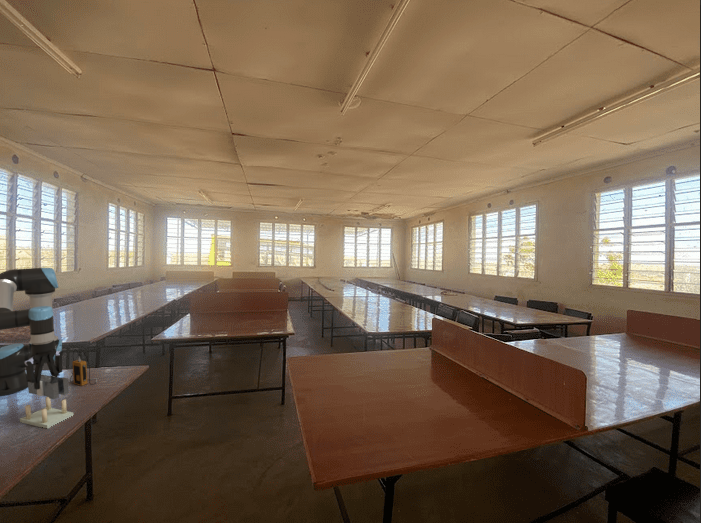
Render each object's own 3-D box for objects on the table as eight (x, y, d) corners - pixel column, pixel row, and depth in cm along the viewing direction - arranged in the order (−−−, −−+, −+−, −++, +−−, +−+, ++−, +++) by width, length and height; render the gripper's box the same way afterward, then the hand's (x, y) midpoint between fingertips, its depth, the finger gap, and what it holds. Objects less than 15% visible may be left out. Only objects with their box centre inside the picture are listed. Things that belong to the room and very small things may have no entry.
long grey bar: (26, 393, 137) (25, 378, 136) (41, 387, 142) (40, 373, 142) (54, 399, 133) (52, 383, 132) (68, 393, 138) (67, 378, 138)
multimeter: (106, 379, 177) (104, 345, 175) (86, 387, 167) (84, 352, 166) (89, 375, 182) (87, 342, 180) (69, 383, 172) (66, 348, 171)
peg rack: (19, 422, 136) (18, 406, 136) (46, 409, 146) (45, 394, 145) (47, 428, 132) (46, 412, 132) (73, 415, 142) (72, 400, 141)
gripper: (59, 335, 145) (62, 382, 147) (11, 347, 128) (16, 401, 130) (71, 336, 143) (74, 384, 145) (24, 349, 127) (28, 403, 129)
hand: (46, 392), depth 138 cm, fingers closed on long grey bar, 4 cm apart
